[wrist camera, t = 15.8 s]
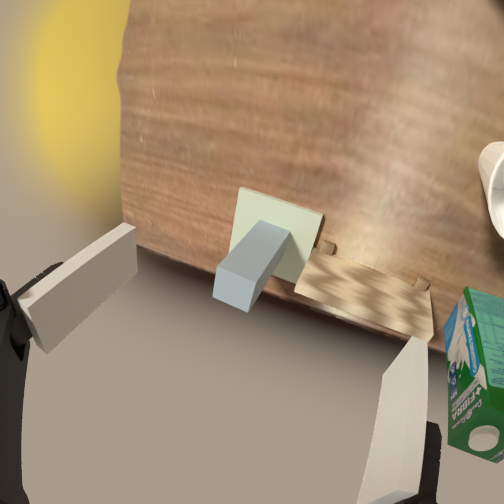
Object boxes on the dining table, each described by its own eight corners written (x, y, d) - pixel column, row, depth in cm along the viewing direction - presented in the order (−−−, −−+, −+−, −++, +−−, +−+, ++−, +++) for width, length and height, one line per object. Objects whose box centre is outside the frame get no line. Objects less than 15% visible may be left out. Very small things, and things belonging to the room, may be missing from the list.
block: (259, 219, 49) (217, 266, 38) (290, 231, 48) (255, 282, 37) (253, 246, 52) (212, 297, 41) (281, 258, 51) (247, 313, 40)
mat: (230, 255, 55) (228, 257, 55) (241, 186, 48) (239, 188, 48) (300, 282, 53) (299, 285, 52) (323, 214, 45) (322, 216, 45)
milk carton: (465, 286, 41) (490, 424, 21) (507, 299, 38) (542, 429, 19) (443, 327, 46) (445, 460, 26) (483, 338, 43) (497, 464, 23)
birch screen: (308, 263, 50) (290, 301, 42) (317, 237, 47) (300, 272, 39) (420, 306, 46) (421, 350, 38) (434, 282, 43) (440, 325, 35)
